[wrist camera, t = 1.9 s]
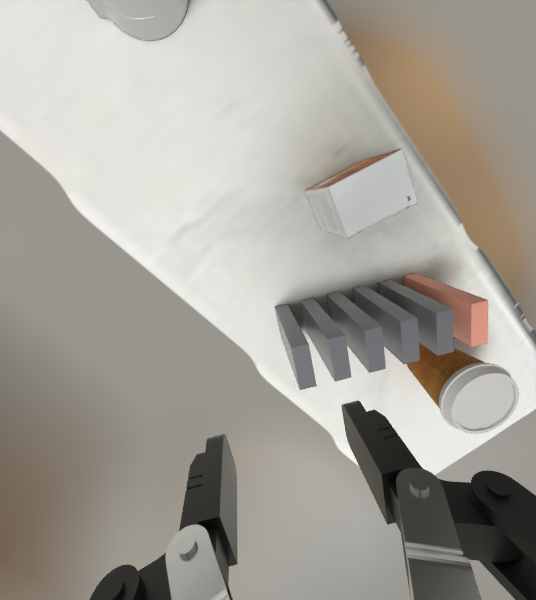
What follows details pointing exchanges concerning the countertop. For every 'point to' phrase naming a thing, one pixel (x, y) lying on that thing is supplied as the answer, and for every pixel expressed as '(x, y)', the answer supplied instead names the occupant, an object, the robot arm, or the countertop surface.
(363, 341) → the domino
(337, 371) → the domino
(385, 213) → the small box
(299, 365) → the domino
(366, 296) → the domino
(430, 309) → the domino
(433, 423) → the countertop surface
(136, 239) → the countertop surface
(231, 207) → the countertop surface
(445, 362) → the disposable coffee cup
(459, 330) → the domino
